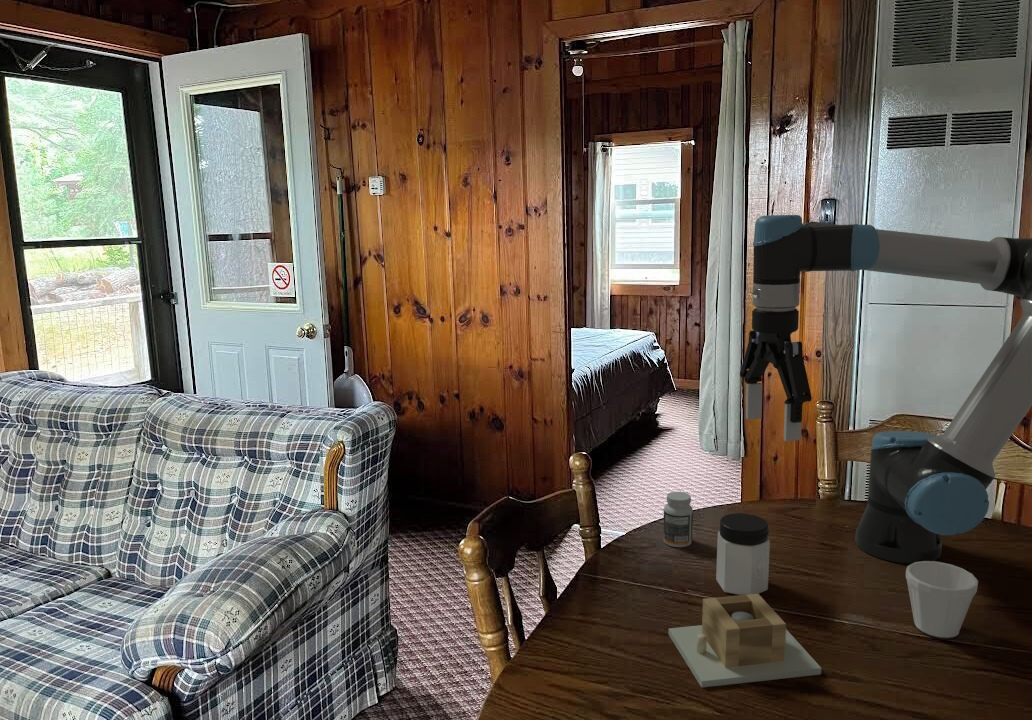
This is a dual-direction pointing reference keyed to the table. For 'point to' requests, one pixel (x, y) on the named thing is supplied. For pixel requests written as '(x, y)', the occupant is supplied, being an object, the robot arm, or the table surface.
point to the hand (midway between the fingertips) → (772, 428)
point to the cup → (939, 597)
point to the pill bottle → (678, 520)
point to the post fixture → (715, 674)
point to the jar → (743, 554)
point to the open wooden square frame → (743, 630)
